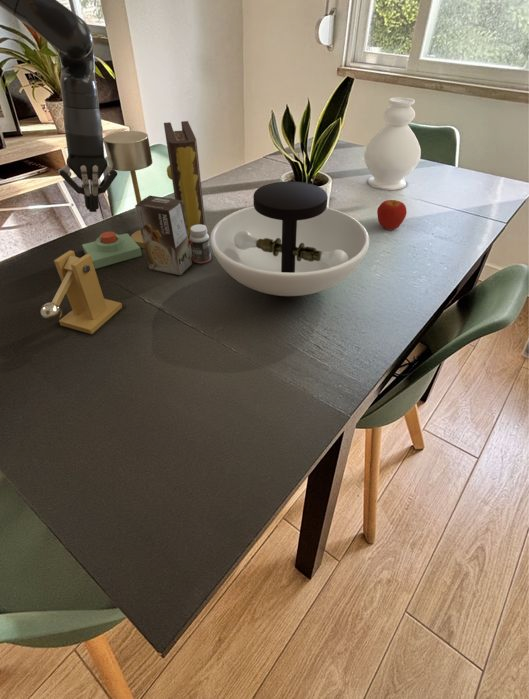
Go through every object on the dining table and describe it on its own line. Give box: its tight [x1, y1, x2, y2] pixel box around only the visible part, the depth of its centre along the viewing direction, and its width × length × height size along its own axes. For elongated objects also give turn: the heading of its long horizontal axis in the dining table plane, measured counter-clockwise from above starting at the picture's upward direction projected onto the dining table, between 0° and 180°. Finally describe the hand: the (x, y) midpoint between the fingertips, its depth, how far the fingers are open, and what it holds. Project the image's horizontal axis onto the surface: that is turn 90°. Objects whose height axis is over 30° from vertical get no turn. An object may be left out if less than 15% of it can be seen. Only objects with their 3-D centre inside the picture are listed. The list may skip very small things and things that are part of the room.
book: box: [163, 120, 206, 245], centre depth 114 cm, size 22×8×25 cm, turn 14°
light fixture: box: [209, 181, 370, 297], centre depth 91 cm, size 33×33×21 cm
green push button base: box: [81, 232, 143, 270], centre depth 108 cm, size 12×10×4 cm
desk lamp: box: [103, 130, 153, 249], centre depth 106 cm, size 10×10×26 cm
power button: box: [99, 231, 117, 244], centre depth 107 cm, size 4×4×2 cm
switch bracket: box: [53, 250, 123, 335], centre depth 85 cm, size 10×8×14 cm
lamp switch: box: [39, 256, 81, 323], centre depth 80 cm, size 13×4×4 cm, turn 158°
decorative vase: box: [363, 96, 422, 191], centre depth 137 cm, size 18×18×25 cm
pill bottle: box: [189, 224, 212, 264], centre depth 105 cm, size 5×5×8 cm
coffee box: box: [134, 195, 193, 276], centre depth 99 cm, size 9×6×16 cm
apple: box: [376, 199, 407, 231], centre depth 117 cm, size 8×8×8 cm
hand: (92, 210), depth 102 cm, fingers closed
